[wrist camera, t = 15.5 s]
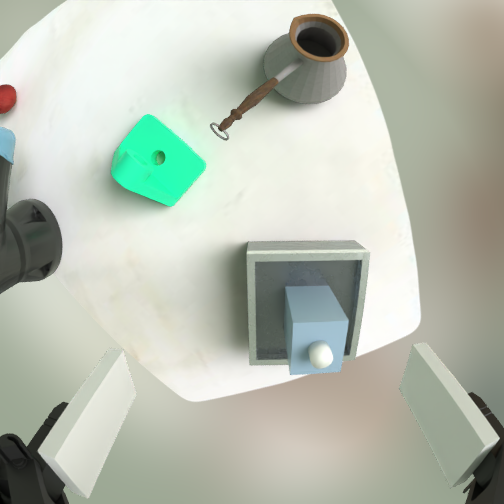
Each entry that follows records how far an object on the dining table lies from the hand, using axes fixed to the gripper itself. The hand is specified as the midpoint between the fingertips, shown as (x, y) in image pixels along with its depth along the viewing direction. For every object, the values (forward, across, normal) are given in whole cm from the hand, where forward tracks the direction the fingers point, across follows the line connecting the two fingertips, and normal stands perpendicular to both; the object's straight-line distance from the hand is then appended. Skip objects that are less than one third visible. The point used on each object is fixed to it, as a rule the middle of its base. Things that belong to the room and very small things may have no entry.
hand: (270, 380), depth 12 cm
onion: (+32, -47, +28) cm, 63 cm away
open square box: (+32, +6, -10) cm, 34 cm away
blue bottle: (+27, +6, -10) cm, 29 cm away
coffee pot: (+32, +3, +20) cm, 38 cm away
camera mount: (+32, -14, +11) cm, 37 cm away
